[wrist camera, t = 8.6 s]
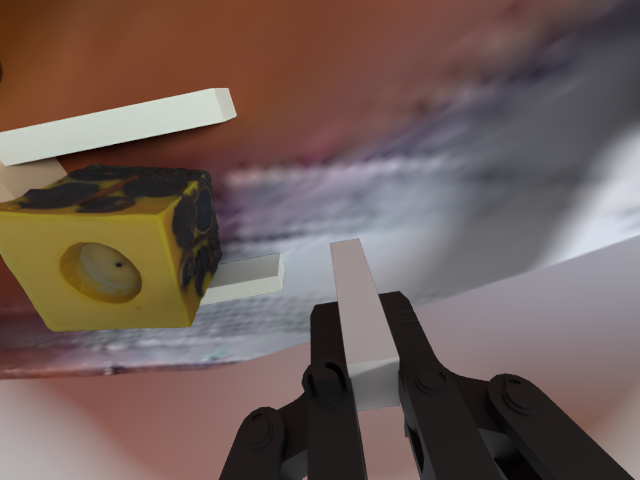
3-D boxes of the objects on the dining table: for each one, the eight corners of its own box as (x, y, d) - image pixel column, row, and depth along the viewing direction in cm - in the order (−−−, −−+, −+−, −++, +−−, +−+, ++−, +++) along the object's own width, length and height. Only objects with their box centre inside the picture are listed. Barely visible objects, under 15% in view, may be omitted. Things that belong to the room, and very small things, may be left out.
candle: (127, 257, 27) (47, 334, 18) (89, 161, 22) (-45, 208, 13) (224, 258, 28) (192, 332, 19) (211, 168, 23) (159, 215, 14)
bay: (228, 88, 20) (208, 88, 15) (284, 266, 29) (282, 297, 25) (11, 133, 20) (-67, 145, 16) (135, 294, 30) (108, 329, 25)
